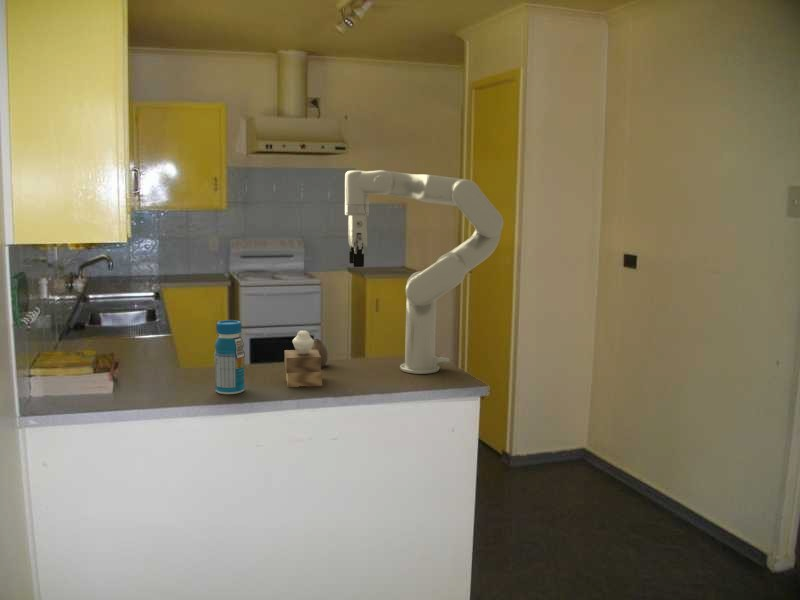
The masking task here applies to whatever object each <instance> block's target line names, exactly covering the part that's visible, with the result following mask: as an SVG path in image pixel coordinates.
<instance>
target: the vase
mask: <svg viewBox="0 0 800 600" xmlns="http://www.w3.org/2000/svg"><path fill="white" fill-rule="evenodd" d="M313 341H314V343H313V345H312V348H311V349H310V350H312V349H318V351H319V354H320V356H321V368H323V367H324V366H325V365H326V364H327V362H328V359H329V353H328V349H327V347H326V345H325V344H324V343H323V340H322V339H320V338H314V339H313Z"/></svg>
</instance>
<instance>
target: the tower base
mask: <svg viewBox="0 0 800 600" xmlns="http://www.w3.org/2000/svg"><path fill="white" fill-rule="evenodd" d="M285 380H286V381H287V382H286V385H287V388H300V387H299V386H307V387H323V371H322V369H321V372H304V373H286V372H285Z"/></svg>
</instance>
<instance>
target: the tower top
mask: <svg viewBox="0 0 800 600" xmlns="http://www.w3.org/2000/svg"><path fill="white" fill-rule="evenodd" d="M283 354H284V360H283V361H284V369H285V374H286V373H304V372H321V370H322V367H321V356H320V354H319V351H318V349H312V350H310V351H309V353H308V354H298V353H297V351H296V349H290V350H289V349H286V350H284V353H283Z"/></svg>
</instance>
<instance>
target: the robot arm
mask: <svg viewBox="0 0 800 600" xmlns="http://www.w3.org/2000/svg"><path fill="white" fill-rule="evenodd" d="M370 194H373V195H379V196H382V195H387V196H394V197H395V196H396V197H401V198H402V197H403V198H408V199H412V200H416V201H420V202H423V203H429V204H430V203H431V204H437V205H439V204H440V205H444V206H445V205H446V206H452V207H457V208H458V209H459V210H460V211H461V213H462V214H463V215H464V217H465V218H466V219H467V220H468V221H469V223H470V224H471V225H472V226H473V227H474V231H473V233H472V235H470V237H468V238H467V239H466V240H464V241H462V243H460V244H459V245H457V246H456V247H454V248H453V249H452V250H450V251H448V252H446V253H445V254H442V255H441V256H439V257H438V259H437V260H436V261H435V263H432V264H431V265H430V266H428V267H427V268H425V269H423V270H419V271H415V272H413V273H412V274H411V275H410V276H409V277H408V279H407V281H406V283H405V290H404V292H405V296H406V299H405V300H406V302H405V303H406V304H405V336H404V337H405V341H404V343H405V346H404V348H405V349H404V362H403V363H401V364H400V365H399V369H400V370H401V371H402V372H404V373H409V374H415V375H425V374H426V375H427V374H432V373H433V374H435V373H437V372H438V371H440V365H441V364H444V365H449V364H450V358H449V357H444V356H439V357H438V356H437V355H436V353H435V352H436V327H437V325H436V324H437V323H436V322H437V300H438V299H439V298H441V297H443V296H444V295H445V294H447V293H448V292H450V291H451V290H453V289H455V288H456V287H457V286H459V284H461V283H462V282H463V281H464V279H465V278H466V275H467V274H468V273H469V272H470V271H472V270H474V268H476V267H477V266H478V265H480V264H481V263H483V262H484V261H486V260H487V259H488V258H489V257H490V256H491V255H492V254H493V253H494V252H495V250H496V249H497V247H498V245H499V242H500V239H501V236H502V235H501V234H502V230H503V227H504V218H503V215H502V214H501V213H500V212H499V211H498V209H497V208H496V207H495V206H494V205H493V203H492V202H491V201H490V200H489V198H488V197H487V196H486V195H485V193H483V191H482V189H481V188H480V187H479V186H478V184H477V183H476V182H475V181H473V180H471V179H466V178H457V177H450V176H441V175H436V174H435V175H434V174H426V173H423V174H421V173H420V174H418V173H417V174H414V173H413V174H412V173H404V172H398V171H397V172H396V171H392V170H391V171H390V170H385V169H379V170H378V169H377V170H367V171H366V170H359V169H358V170H347V171H345V174H344V215H345V216H348V217H347V220H348V221H347V229H348V230H347V236H348V237H347V239H348V244H349V250H348V253H349V255H348V256H349V261H348V262H349V264H353V267H354V268H363V267H364V266H365V254H364V253H365V252H364V248H367V247H368V225H367V224H368V223H367V221H368V220H367V216H369V215H370Z"/></svg>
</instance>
